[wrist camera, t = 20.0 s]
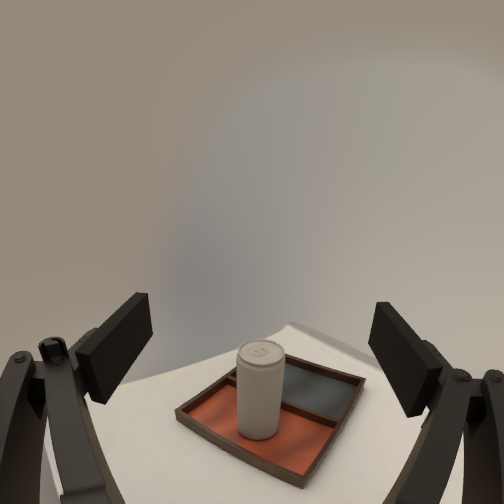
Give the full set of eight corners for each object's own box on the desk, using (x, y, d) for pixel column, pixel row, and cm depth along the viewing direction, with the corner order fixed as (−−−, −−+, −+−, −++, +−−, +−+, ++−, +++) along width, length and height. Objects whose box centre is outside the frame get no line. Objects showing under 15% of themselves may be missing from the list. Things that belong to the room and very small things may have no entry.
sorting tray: (176, 419, 31) (174, 409, 30) (262, 354, 47) (263, 345, 46) (302, 489, 21) (305, 481, 20) (363, 387, 37) (366, 378, 36)
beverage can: (285, 431, 29) (296, 354, 26) (252, 448, 26) (255, 371, 24) (262, 410, 33) (266, 333, 30) (230, 424, 30) (227, 346, 27)
